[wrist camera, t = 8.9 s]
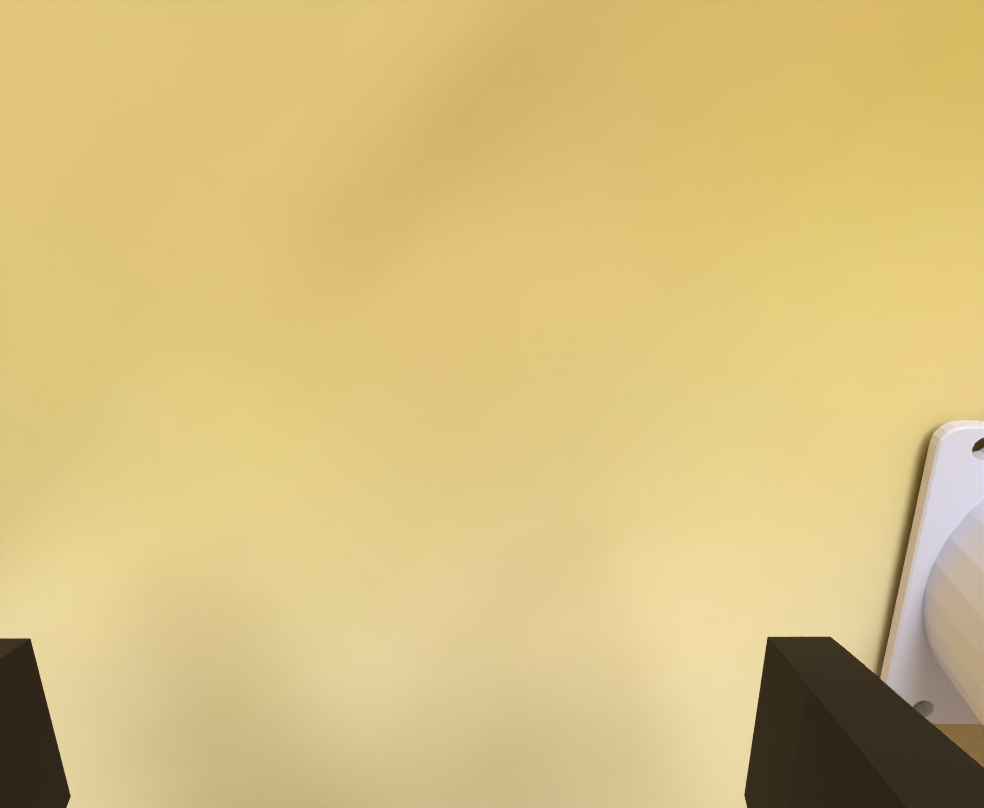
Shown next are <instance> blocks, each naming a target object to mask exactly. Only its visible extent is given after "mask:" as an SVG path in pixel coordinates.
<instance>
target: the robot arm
mask: <svg viewBox="0 0 984 808" xmlns="http://www.w3.org/2000/svg"><path fill="white" fill-rule="evenodd" d="M981 438H984V420H957V421H951V422H948V423H946V424H944V425H942V426H940V427H939V428H938V429H937V430H936V431H935V432H934V433H933V435H932V438H931V440H930V443H929V448H928V453H927V458H926V462H925V467H924V472H923V477H922V481H921V486H920V491H919V496H918V500H917V505H916V510H915V515H914V519H913V524H912V529H911V534H910V538H909V543H908V548H907V553H906V557H905V562H904V567H903V572H902V576H901V581H900V586H899V591H898V596H897V600H896V605H895V610H894V615H893V619H892V624H891V629H890V634H889V638H888V643H887V648H886V653H885V657H884V662H883V667H882V672H881V676H880V678H879V677H878V676H876V675H875V674H874V673H873V672H872V671H871V670H870V669H868V668H867V667H866V666H865V665H864V664H863V663H861V662H860V661H859V660H858V659H857V658H856V657H854V656H853V655H852V654H851V653H850V652H848V651H847V650H846V649H845V648H844V647H842V646H841V645H840V644H839V643H837V642H836V641H835V640H834V639H832V638H831V637H768V638H767V645H766V652H765V659H764V665H763V672H762V679H761V686H760V693H759V699H758V706H757V713H756V720H755V727H754V733H753V740H752V747H751V754H750V761H749V767H748V774H747V781H746V788H745V800H746V804H747V808H984V768H983V767H982V766H981V765H980V764H979V763H977V762H976V761H975V760H974V759H973V758H971V757H970V756H969V755H968V754H967V753H966V752H964V751H963V750H962V749H961V748H960V747H959V746H957V745H956V744H955V743H954V742H953V741H951V740H950V739H949V738H948V737H947V736H946V735H944V734H943V733H942V732H941V731H940V730H939V729H938V728H936V727H935V726H934V725H933V724H983V726H984V447H983V448H982V449H980V450H979V451H975V452H972V448H973V446H974V444H975V442H977V441H978V440H980V439H981ZM920 701H924V702H923V703H922V704H920V705H918V706H914V705H915V704H916V703H918V702H920ZM70 797H71V796H70V792H69V788H68V784H67V780H66V776H65V772H64V768H63V765H62V761H61V757H60V753H59V749H58V745H57V741H56V737H55V733H54V729H53V725H52V721H51V717H50V714H49V710H48V706H47V702H46V698H45V694H44V690H43V686H42V682H41V678H40V674H39V670H38V667H37V663H36V659H35V655H34V651H33V647H32V643H31V639H0V808H66V807H67V805H68V802H69V799H70Z"/></svg>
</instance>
